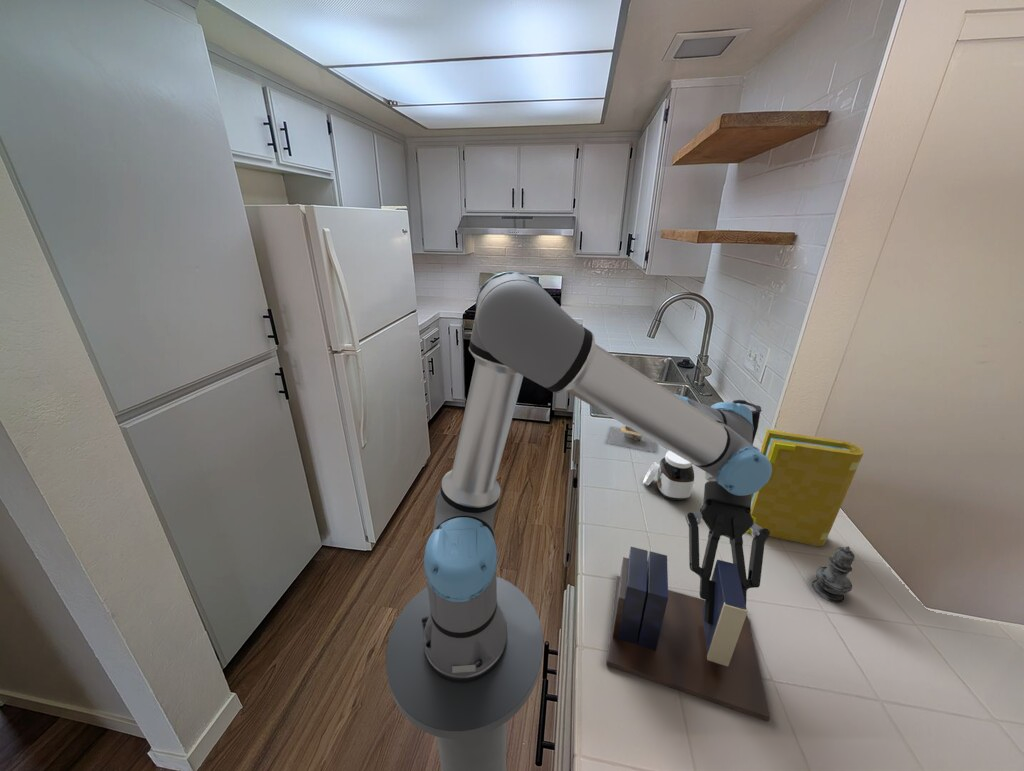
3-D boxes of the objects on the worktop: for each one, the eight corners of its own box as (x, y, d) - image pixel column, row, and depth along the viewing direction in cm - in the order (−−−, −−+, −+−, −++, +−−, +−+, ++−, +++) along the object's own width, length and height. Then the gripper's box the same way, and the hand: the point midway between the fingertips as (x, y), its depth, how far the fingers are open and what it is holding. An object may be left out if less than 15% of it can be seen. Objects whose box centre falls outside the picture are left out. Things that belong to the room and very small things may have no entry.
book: (746, 532, 92) (775, 443, 83) (740, 514, 98) (766, 429, 89) (829, 550, 88) (870, 457, 78) (818, 529, 94) (854, 441, 84)
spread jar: (693, 504, 102) (702, 468, 97) (650, 503, 102) (657, 467, 97) (676, 476, 113) (683, 442, 108) (638, 476, 113) (643, 442, 108)
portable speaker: (724, 469, 116) (739, 412, 108) (710, 452, 125) (723, 398, 117) (753, 470, 116) (770, 412, 108) (736, 453, 125) (751, 398, 117)
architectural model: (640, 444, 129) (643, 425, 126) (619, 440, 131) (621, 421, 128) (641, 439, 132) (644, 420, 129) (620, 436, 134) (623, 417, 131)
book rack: (606, 664, 65) (615, 607, 59) (616, 578, 80) (624, 527, 75) (768, 721, 57) (796, 662, 52) (745, 614, 73) (764, 560, 68)
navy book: (707, 660, 63) (724, 605, 58) (701, 611, 71) (716, 559, 66) (728, 666, 62) (747, 611, 57) (720, 616, 70) (736, 564, 65)
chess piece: (834, 608, 74) (856, 562, 70) (803, 584, 79) (822, 540, 75) (853, 598, 76) (875, 553, 72) (821, 575, 81) (841, 531, 77)
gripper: (769, 496, 72) (768, 638, 64) (677, 479, 77) (666, 608, 69) (785, 491, 65) (786, 648, 57) (684, 472, 70) (672, 614, 62)
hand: (721, 626), depth 63 cm, fingers closed on navy book, 3 cm apart
